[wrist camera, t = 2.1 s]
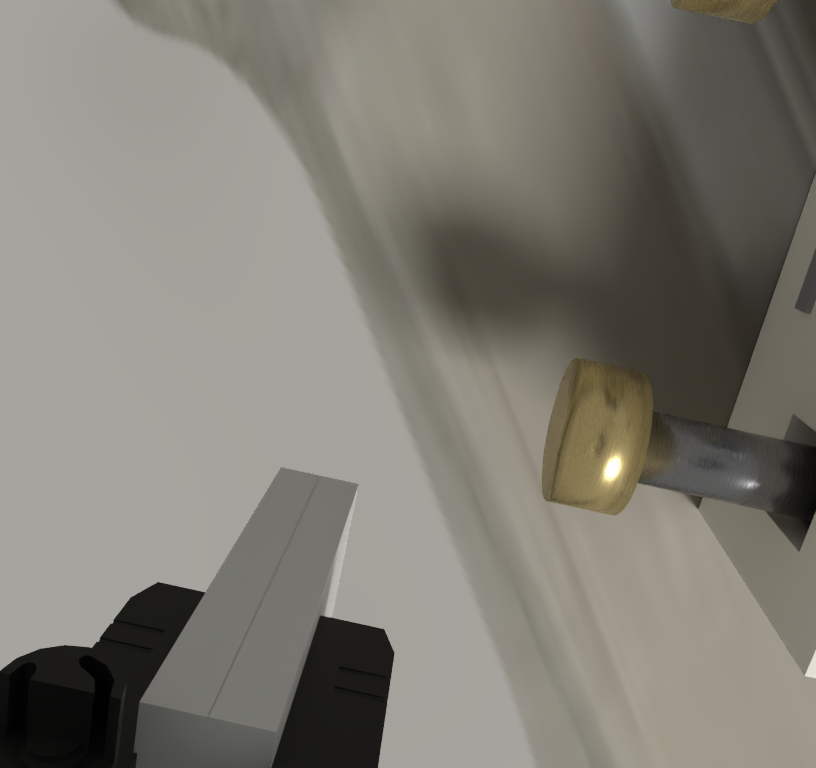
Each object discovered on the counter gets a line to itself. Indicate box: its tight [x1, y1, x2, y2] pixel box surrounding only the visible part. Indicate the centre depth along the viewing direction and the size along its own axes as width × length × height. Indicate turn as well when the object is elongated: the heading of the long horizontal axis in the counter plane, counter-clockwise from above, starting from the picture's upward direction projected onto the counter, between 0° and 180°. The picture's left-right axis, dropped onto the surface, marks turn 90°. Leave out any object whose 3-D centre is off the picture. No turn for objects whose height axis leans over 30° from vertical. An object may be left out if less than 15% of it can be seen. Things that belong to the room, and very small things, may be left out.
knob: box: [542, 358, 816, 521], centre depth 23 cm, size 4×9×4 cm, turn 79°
